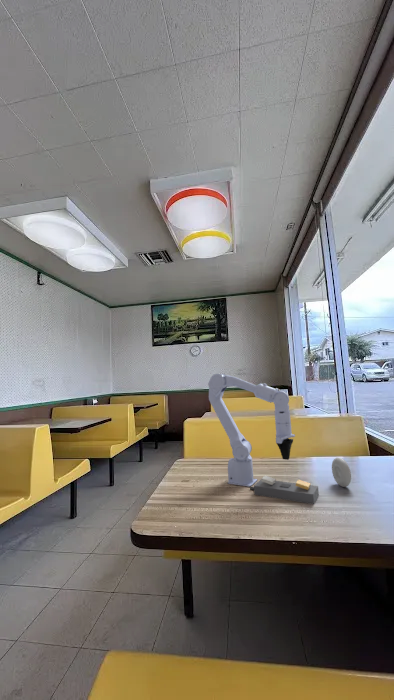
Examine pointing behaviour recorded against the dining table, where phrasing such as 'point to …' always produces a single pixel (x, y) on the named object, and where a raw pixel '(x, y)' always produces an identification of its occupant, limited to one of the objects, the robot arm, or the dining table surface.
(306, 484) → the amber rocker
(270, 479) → the white plug
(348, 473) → the grey round disc
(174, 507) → the dining table surface
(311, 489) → the power strip
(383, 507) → the dining table surface
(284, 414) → the robot arm
